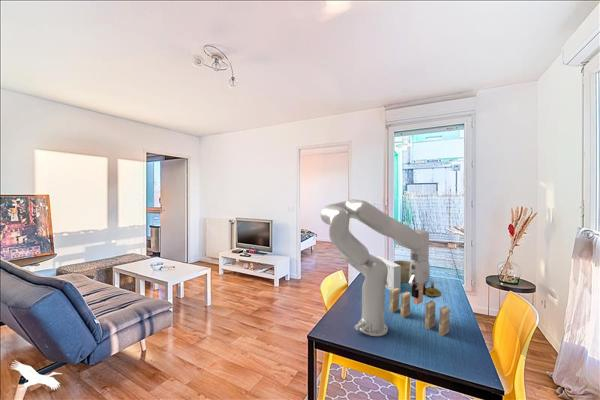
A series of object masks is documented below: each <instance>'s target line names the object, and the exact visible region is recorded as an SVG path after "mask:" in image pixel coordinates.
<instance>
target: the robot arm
mask: <svg viewBox="0 0 600 400" xmlns="http://www.w3.org/2000/svg"><path fill="white" fill-rule="evenodd" d="M320 219H321V220H322V222H324V224H326V225H329V230H328V231H329V232H328V235H329V239H330V241H331V243H332V245H334V247H335V248H337V249H338V254H339V255H340V256H341V258H343V260H345V261H346V262H347V263H348V264H349V265H350V266H351V267H352V268H353V269H355V270H356V271H358V273H360V274H362V275H363V276H364V281H363V283H362V289H361V291H362V293H361V318H360V319H359V321H358V323H357V324H355V325H354V329H355V330H356V331H357V330H359V331H360V332H361V333H363V334H365V335H367V336H371V337H383V336H385V335H386V334H387V333H388V328H389V327H388V326H387V324H386V323H385V303H386V302H385V301H386V299H385V298H386V295H385V293H386V287H385V284H386V279H387V274H388V268H387V266H386V264H385V263H384V262H383V261H382V260H381V259H379V258H377V257H376V256H375V255H372V254H370V253H369V249H368V248H367V247H366V246H365V244H364V243H362V241H361V240H359V239H358V238H356V237H355V236H354V234H352V232H351V231H350V219H354V220H357V221H358V222H360V223H362V224H364V225H366V226H367V227H369V228H370V229H371V230H373V231H375V232H376V233H378V234H380V235H383V236H385V237H387V238H389V239H390V238H391V239H392V241H393V242H394V243H395V244H396V245H397V246H399V247H402V248H405V249H407V250H410V262H411V263H410V271H409V280H410V281H409V283H408V285H409V286H410V288H411V292H410V293H411V294H410V297H413V298H414V297H415V298H419V290H418V286H419V284H422V283H424V286H423V296H426V295H425V288H427V282H428V281H429V280H430V278H431V277H430V276H431V275H430V274H431V273H430V272H431V271H430V269H431V268H430V261H429V257H430V256H429V255H430V232H429V231H428V230H425V229H413V228H411V227H410V226H408V225H406V223H405V224H404V223H403V222H401V221H398V219H395V218H393V217H391V216H390V215H388V214H386V213H385V212H383V211H382V210H380V209H378V208H377V207H376V206H374V205H372V204H371V203H370V202H368V201H367V200H363V199H362V200H361V199H348V200H344V201H340V202H336V203H331V204H328V205H325V206H324V207H323V208H322V209H321V211H320ZM414 280H415V281H416V282H414ZM414 283H415V284H416V286H415V285H414Z"/></svg>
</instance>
